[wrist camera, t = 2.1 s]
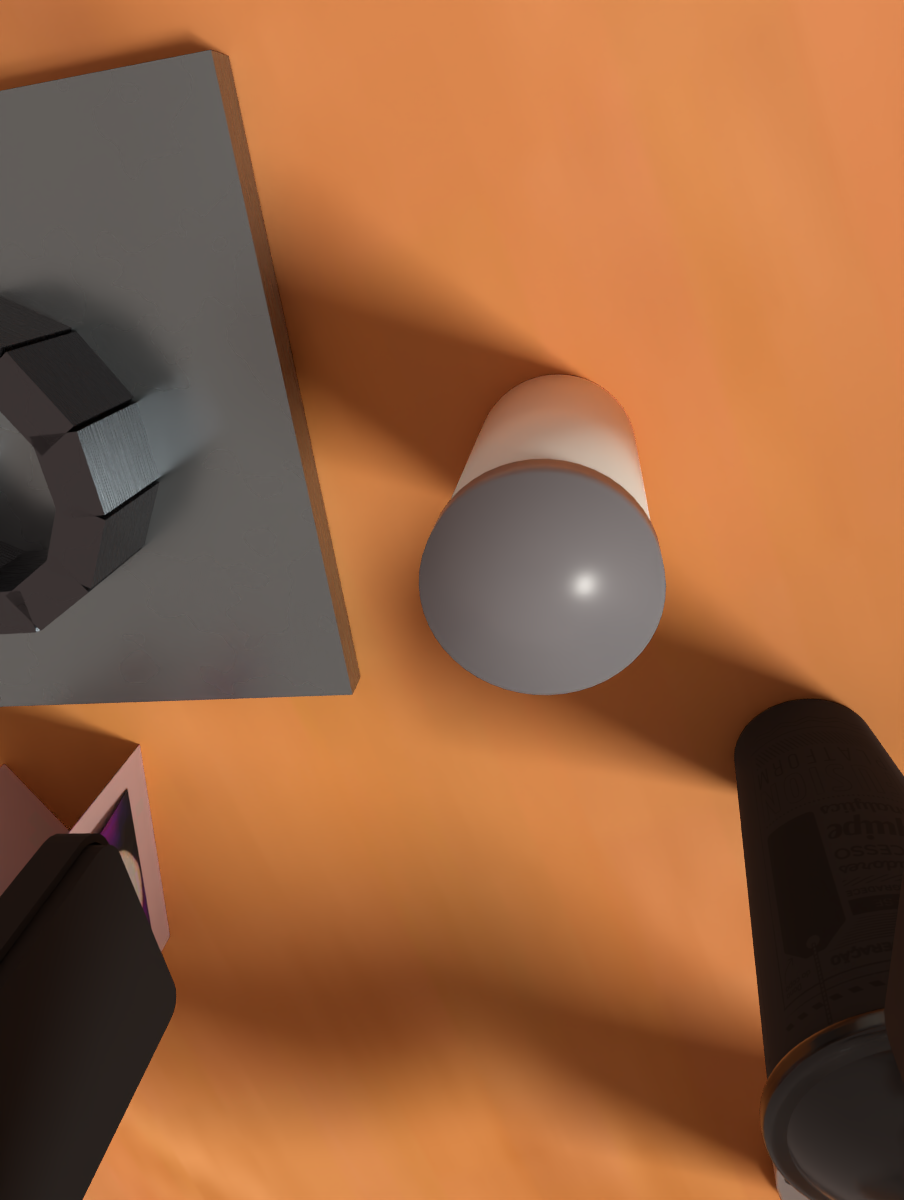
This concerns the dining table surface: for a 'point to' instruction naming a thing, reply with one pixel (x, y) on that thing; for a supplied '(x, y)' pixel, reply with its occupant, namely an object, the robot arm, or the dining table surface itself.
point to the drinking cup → (825, 944)
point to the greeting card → (120, 813)
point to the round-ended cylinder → (546, 545)
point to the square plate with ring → (151, 408)
